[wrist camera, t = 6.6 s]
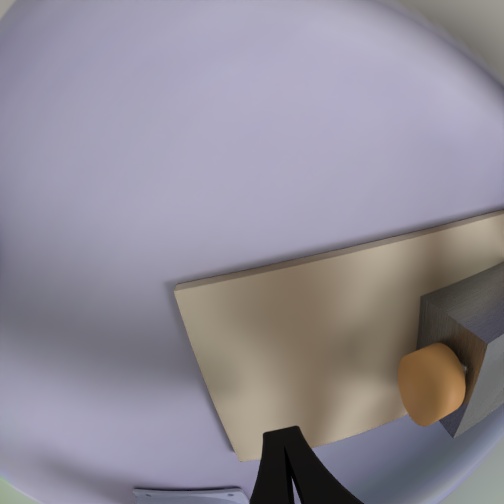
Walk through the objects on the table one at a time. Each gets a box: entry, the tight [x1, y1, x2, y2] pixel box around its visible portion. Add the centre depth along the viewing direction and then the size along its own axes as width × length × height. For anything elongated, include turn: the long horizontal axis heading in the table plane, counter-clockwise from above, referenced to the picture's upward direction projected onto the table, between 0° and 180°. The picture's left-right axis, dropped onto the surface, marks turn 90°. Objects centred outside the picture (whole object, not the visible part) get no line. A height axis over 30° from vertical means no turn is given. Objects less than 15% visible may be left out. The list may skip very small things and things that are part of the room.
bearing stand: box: [174, 210, 504, 462], centre depth 11 cm, size 22×12×6 cm, turn 101°
